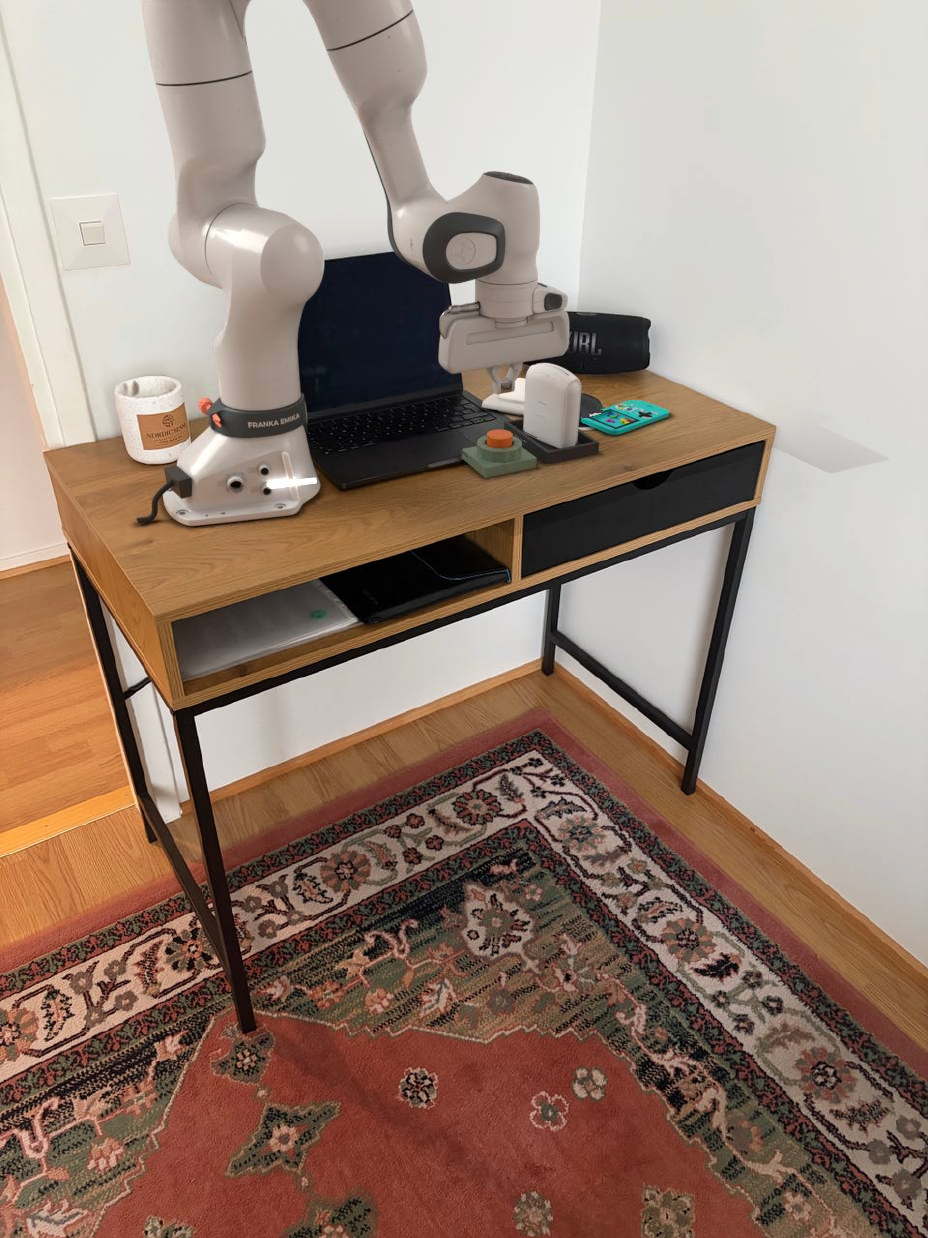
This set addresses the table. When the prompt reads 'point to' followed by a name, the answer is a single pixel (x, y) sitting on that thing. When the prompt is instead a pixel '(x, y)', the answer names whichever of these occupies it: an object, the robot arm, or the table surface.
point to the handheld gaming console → (626, 417)
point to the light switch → (508, 400)
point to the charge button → (499, 439)
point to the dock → (549, 452)
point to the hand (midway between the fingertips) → (503, 391)
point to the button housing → (498, 458)
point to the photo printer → (552, 405)
